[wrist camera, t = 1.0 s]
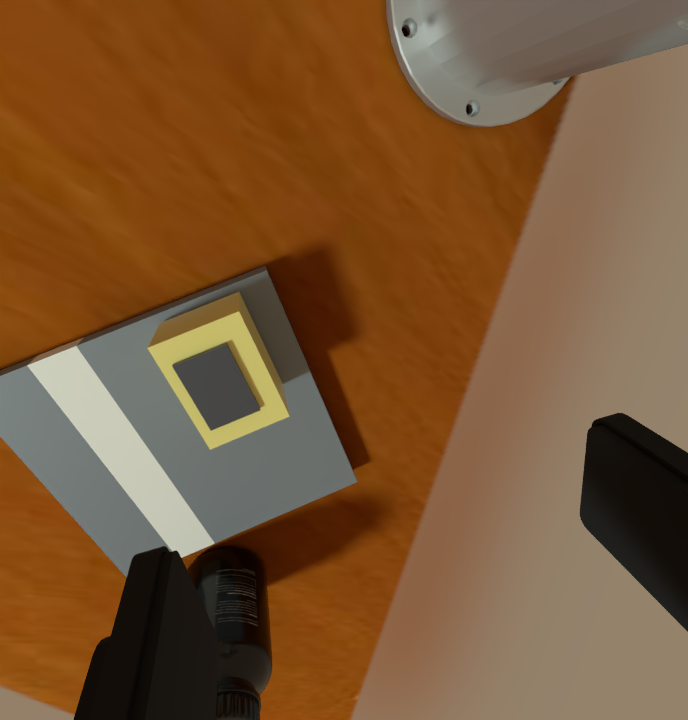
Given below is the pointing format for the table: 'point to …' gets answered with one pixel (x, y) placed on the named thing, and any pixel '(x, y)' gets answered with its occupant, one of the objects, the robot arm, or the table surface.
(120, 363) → the board
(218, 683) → the supplement bottle
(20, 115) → the table surface
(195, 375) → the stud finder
